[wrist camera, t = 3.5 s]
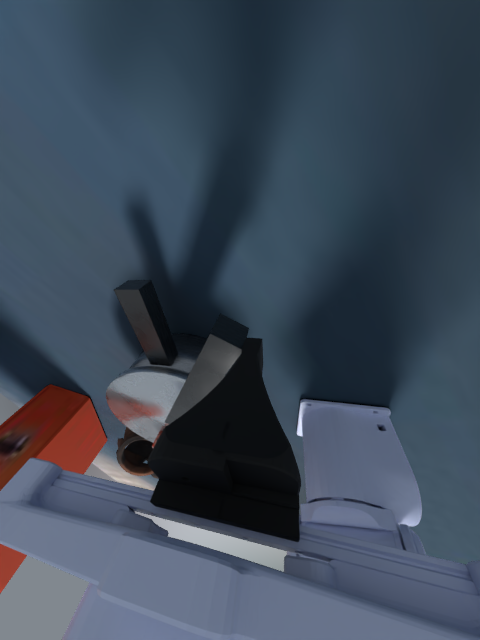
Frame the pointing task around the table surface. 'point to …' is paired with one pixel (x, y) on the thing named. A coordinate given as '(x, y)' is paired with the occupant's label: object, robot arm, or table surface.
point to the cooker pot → (156, 330)
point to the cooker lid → (174, 383)
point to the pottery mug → (134, 454)
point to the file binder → (47, 445)
